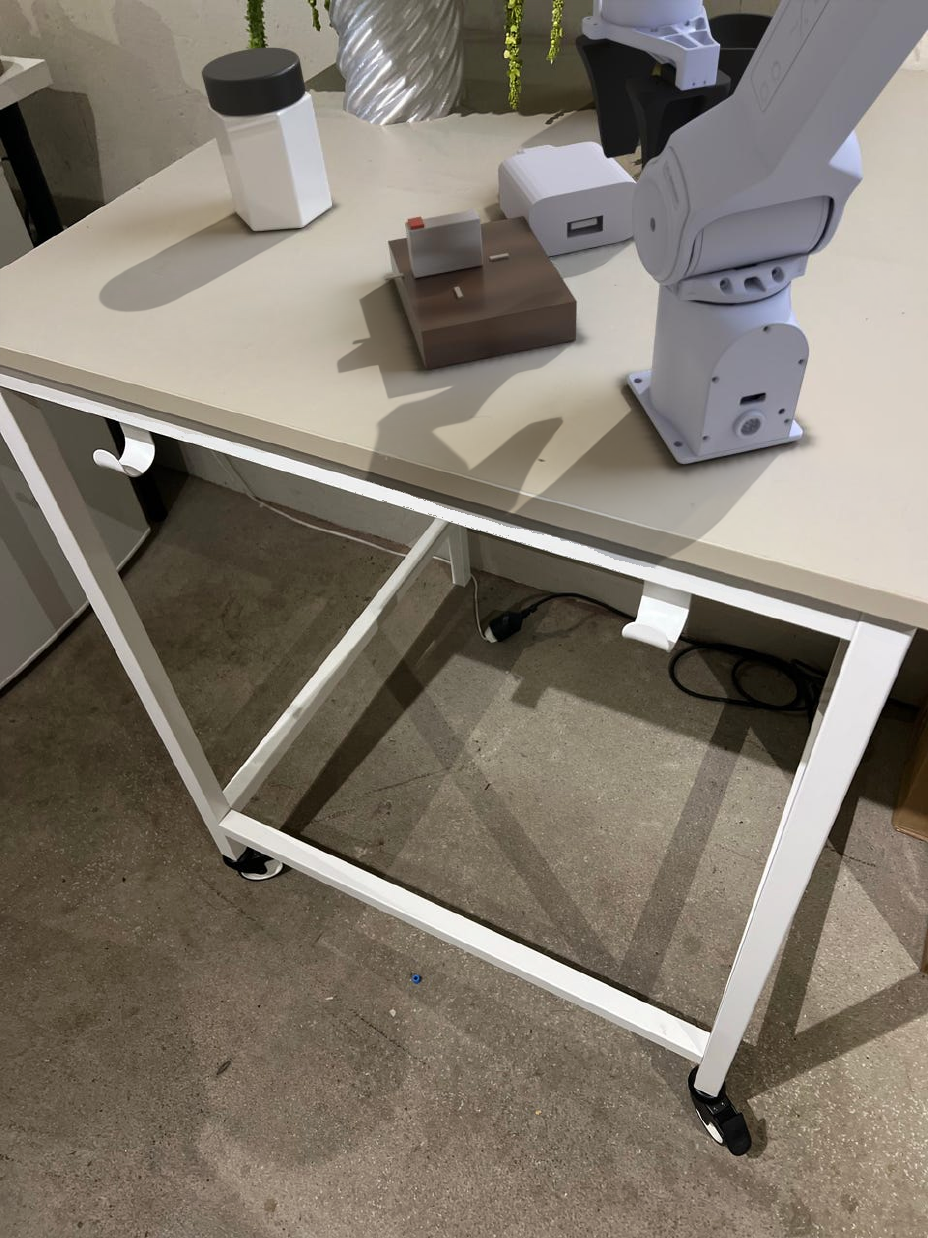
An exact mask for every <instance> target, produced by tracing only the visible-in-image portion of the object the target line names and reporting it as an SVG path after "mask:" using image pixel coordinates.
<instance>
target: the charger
mask: <svg viewBox="0 0 928 1238" xmlns="http://www.w3.org/2000/svg"><path fill="white" fill-rule="evenodd" d="M497 179H498V181H497V182H498V200H499V201H498V202H499V208H500V210H501V211H502V213H503V214H504V216H505V217H506V219H510V218H515V217H521V216H523V217H524V218H525V220H526V221H527V223H528V225H529V226H530V228H531V229H532V231H533V233H534V234H535V236H536V237H537V239H538V240H539V242H540V244H541V245H542V247H543V248H544V250H545V252H546V253H547V255H548V256H549V257H552V256H553V257H554V256H558V255H563V254H567V253H572V252H578V251H582V250H587V249H591V248H597V247H601V246H606V245H611V244H616V243H620V242H623V241H626V240H628V239H631V237H634V234H633V225H632V203H633V195H634V190H635V186H636V183H637V181H636V180H635V179H634V178H633V177H632V176H631V175H630V174H629V173H628V172H627V171H626V170H625V169H624V168H623V167H622V166H621V165H620V164H619V163H618V162H617V161H616V160H615V159H614V157H613V158H606V156H605V155H604V152H603V148H602V145H601V144H599V143H598V142H596V141H581V142H577V143H571V144H567V145H562V146H553V145H551V144H544V145H539V146H534V147H529V148H524V149H519V150H517V152H516V154H515V155H511V156H509V157H508V158H506V159H504V160H503V161H502V162H500V164H499V165H498V167H497Z"/></svg>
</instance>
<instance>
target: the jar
mask: <svg viewBox="0 0 928 1238" xmlns="http://www.w3.org/2000/svg"><path fill="white" fill-rule="evenodd" d="M201 79H202V81H203V85H204V88H205V91H206V96H207V99H208V103H206V108H207V111H208V114H209V118H210V121H211V126H212V129H213V132H214V136H215V140H216V143H217V147H218V151H219V155H220V158H221V161H222V165H223V169H224V172H225V176H226V180H227V184H228V186H229V187H228V188H229V190H230V194H231V199H232V201H233V204H234V209H235V212H236V214H237V215H238V216H239V217H240V218H241V219H242V220H243V221H244V223H246V225H247V226H249V227H250V229H251V230H252V231H254V232H263V231H264V232H265V231H277V230H288V229H301V228H304V227H305V226H307V225H308V224H310V223H311V222H313V221H314V220H315V219H316V218H318V217H319V216H321V215H322V214H324V213H325V212H326V211H328V210H329V209H331V208H332V206H333V202H332V196H331V190H330V186H329V180H328V176H327V169H326V166H325V160H324V155H323V150H322V144H321V139H320V135H319V134H320V133H319V129H318V123H317V118H316V113H315V108H314V104H313V98H312V95H311V94H310V93H309V92H308V91H306V90H307V89H306V85H305V80H304V74H303V69H302V64H301V59H300V56H299V55H298V54H297V53H296V52H295V51H293V50H290V49H287V48H281V47H257V48H255V47H254V48H248V49H242V50H238V51H234V52H230V53H227V54H224V55H222V56H219V57H216V58H215V59H212V60H211V61H209V62H208V63H206V64H205V65H204V67H202V70H201Z"/></svg>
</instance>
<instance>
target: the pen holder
mask: <svg viewBox="0 0 928 1238" xmlns="http://www.w3.org/2000/svg"><path fill="white" fill-rule="evenodd" d="M773 16H774V15H768V14H762V13H750V12H730V13H722V14H717V15H715V16H713V17H710V18H707V20H708V24H709V28H710V33H711V36H712V38H713V39H714V40H715V41H716V42H717V43H718V44H720V51H719V59H718V67H717V70H720V71H722V72H723V73H725V74H726V75H727V76H729V77H730V79H731V81H730V88H729V92H728V94H727V96H726V97H725V98H724V100H726V99H727V98H729V97H730V96H731V95H733V94H734V92H735V90H736V88H737V86H738V84H739V82H740V80H741V78H742V76H743V74H744V72H745V70H746V68H747V67H748V65H749V63H750V61H751V59H752V57H753V55H754V53H755V51H756V49H757V47H758V45H759V43H760V41H761V39H762V37H763V35H764V34H765V32H766V30H767V28H768V26H769V24H770V22H771V20H772V18H773ZM724 100H723V101H724ZM723 101H722V102H723Z"/></svg>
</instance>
